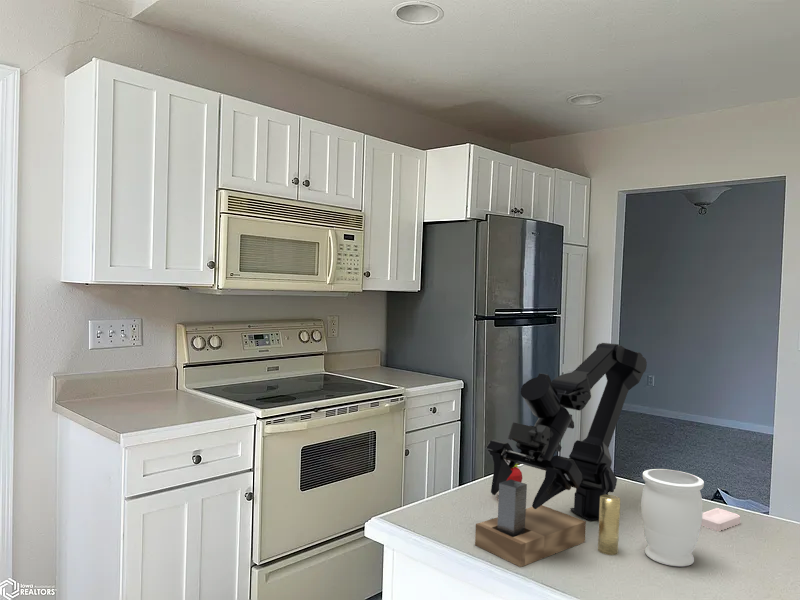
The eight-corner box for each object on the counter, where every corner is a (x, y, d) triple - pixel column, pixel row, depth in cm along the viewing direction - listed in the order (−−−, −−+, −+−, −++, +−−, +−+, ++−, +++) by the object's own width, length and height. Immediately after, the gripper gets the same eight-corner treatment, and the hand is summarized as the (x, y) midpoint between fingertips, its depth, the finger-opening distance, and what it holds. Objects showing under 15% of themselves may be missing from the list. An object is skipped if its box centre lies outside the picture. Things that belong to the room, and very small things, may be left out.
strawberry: (498, 504, 138) (500, 460, 137) (492, 493, 145) (494, 451, 145) (524, 505, 138) (526, 461, 137) (517, 494, 145) (519, 452, 145)
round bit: (608, 545, 117) (610, 493, 117) (622, 553, 114) (624, 499, 114) (593, 548, 116) (595, 495, 115) (607, 556, 112) (609, 502, 112)
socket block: (539, 523, 127) (540, 504, 127) (585, 541, 118) (585, 521, 118) (474, 545, 115) (475, 523, 115) (520, 567, 107) (521, 544, 106)
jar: (696, 576, 106) (700, 489, 105) (633, 560, 111) (637, 477, 111) (703, 554, 115) (707, 475, 114) (644, 540, 120) (648, 464, 120)
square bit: (507, 545, 116) (510, 479, 115) (523, 551, 113) (526, 484, 113) (496, 550, 113) (499, 483, 113) (512, 557, 111) (515, 488, 110)
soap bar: (693, 525, 131) (694, 513, 130) (715, 517, 136) (716, 506, 136) (718, 534, 126) (719, 522, 126) (740, 525, 131) (741, 514, 131)
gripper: (492, 399, 123) (454, 463, 116) (576, 415, 109) (539, 489, 102) (514, 432, 129) (479, 496, 121) (596, 451, 115) (563, 524, 108)
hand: (512, 500), depth 113 cm, fingers open, 9 cm apart
